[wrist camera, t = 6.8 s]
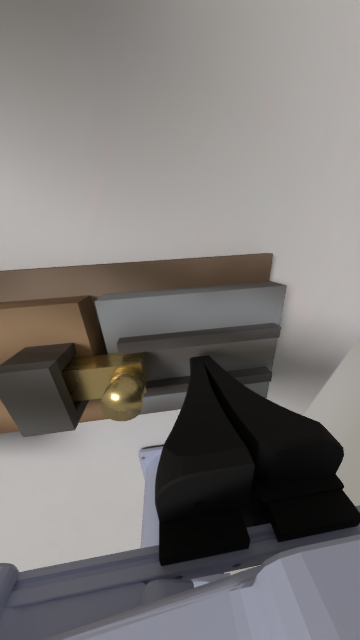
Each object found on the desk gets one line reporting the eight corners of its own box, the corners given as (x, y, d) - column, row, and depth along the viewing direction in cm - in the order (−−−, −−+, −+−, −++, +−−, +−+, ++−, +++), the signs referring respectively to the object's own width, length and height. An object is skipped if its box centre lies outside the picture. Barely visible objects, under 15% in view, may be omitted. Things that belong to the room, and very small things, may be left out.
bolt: (149, 377, 13) (145, 419, 10) (36, 390, 12) (-9, 440, 9) (144, 350, 12) (138, 386, 9) (23, 363, 11) (-32, 407, 8)
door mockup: (248, 389, 19) (282, 443, 13) (-6, 422, 17) (-82, 500, 11) (265, 253, 13) (333, 253, 8) (-104, 277, 11) (-334, 299, 6)
